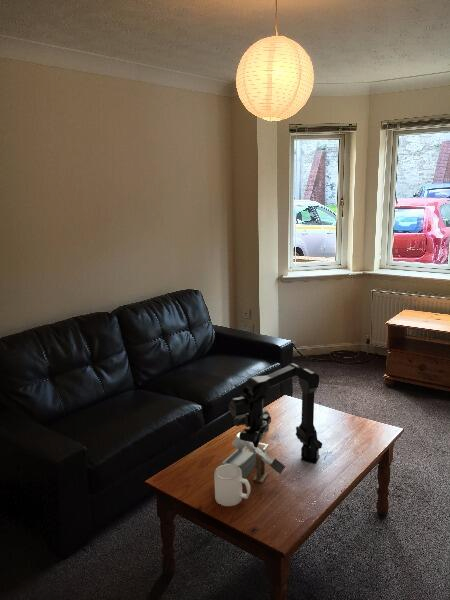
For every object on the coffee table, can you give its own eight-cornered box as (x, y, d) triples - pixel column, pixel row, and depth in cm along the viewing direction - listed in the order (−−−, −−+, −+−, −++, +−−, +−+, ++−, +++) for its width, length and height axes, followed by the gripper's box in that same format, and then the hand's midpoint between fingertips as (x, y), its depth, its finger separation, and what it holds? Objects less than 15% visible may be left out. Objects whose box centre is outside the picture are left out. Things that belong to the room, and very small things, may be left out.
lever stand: (268, 474, 191) (268, 449, 188) (262, 483, 185) (261, 457, 183) (259, 472, 193) (258, 447, 190) (252, 480, 187) (252, 455, 185)
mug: (254, 493, 179) (254, 468, 177) (245, 510, 170) (245, 484, 167) (221, 486, 184) (220, 462, 182) (210, 502, 175) (209, 476, 172)
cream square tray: (268, 451, 207) (268, 444, 207) (259, 463, 199) (259, 455, 198) (248, 447, 212) (248, 440, 211) (239, 458, 203) (239, 450, 203)
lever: (278, 476, 188) (285, 466, 186) (273, 483, 184) (281, 473, 181) (234, 439, 194) (240, 430, 191) (229, 445, 190) (235, 436, 187)
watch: (264, 435, 221) (264, 413, 219) (251, 430, 227) (251, 408, 224) (272, 431, 225) (271, 409, 223) (258, 425, 231) (258, 404, 228)
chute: (257, 462, 200) (257, 444, 198) (239, 486, 184) (239, 467, 182) (241, 458, 203) (241, 440, 201) (222, 481, 187) (221, 463, 185)
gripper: (246, 397, 195) (246, 432, 198) (226, 416, 179) (227, 454, 182) (271, 402, 190) (271, 437, 194) (253, 422, 174) (254, 460, 177)
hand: (255, 446), depth 187 cm, fingers closed
